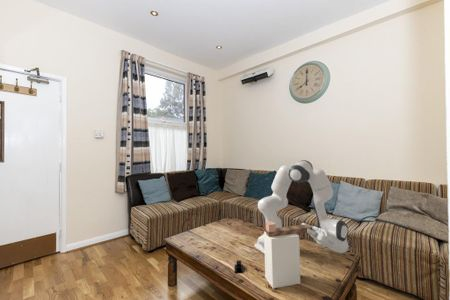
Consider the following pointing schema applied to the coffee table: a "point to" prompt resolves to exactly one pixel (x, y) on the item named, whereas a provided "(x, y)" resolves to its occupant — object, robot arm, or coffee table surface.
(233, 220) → the coffee table surface
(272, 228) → the terracotta cube
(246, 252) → the coffee table surface
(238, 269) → the black angular part
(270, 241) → the pedestal
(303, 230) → the walnut strip
